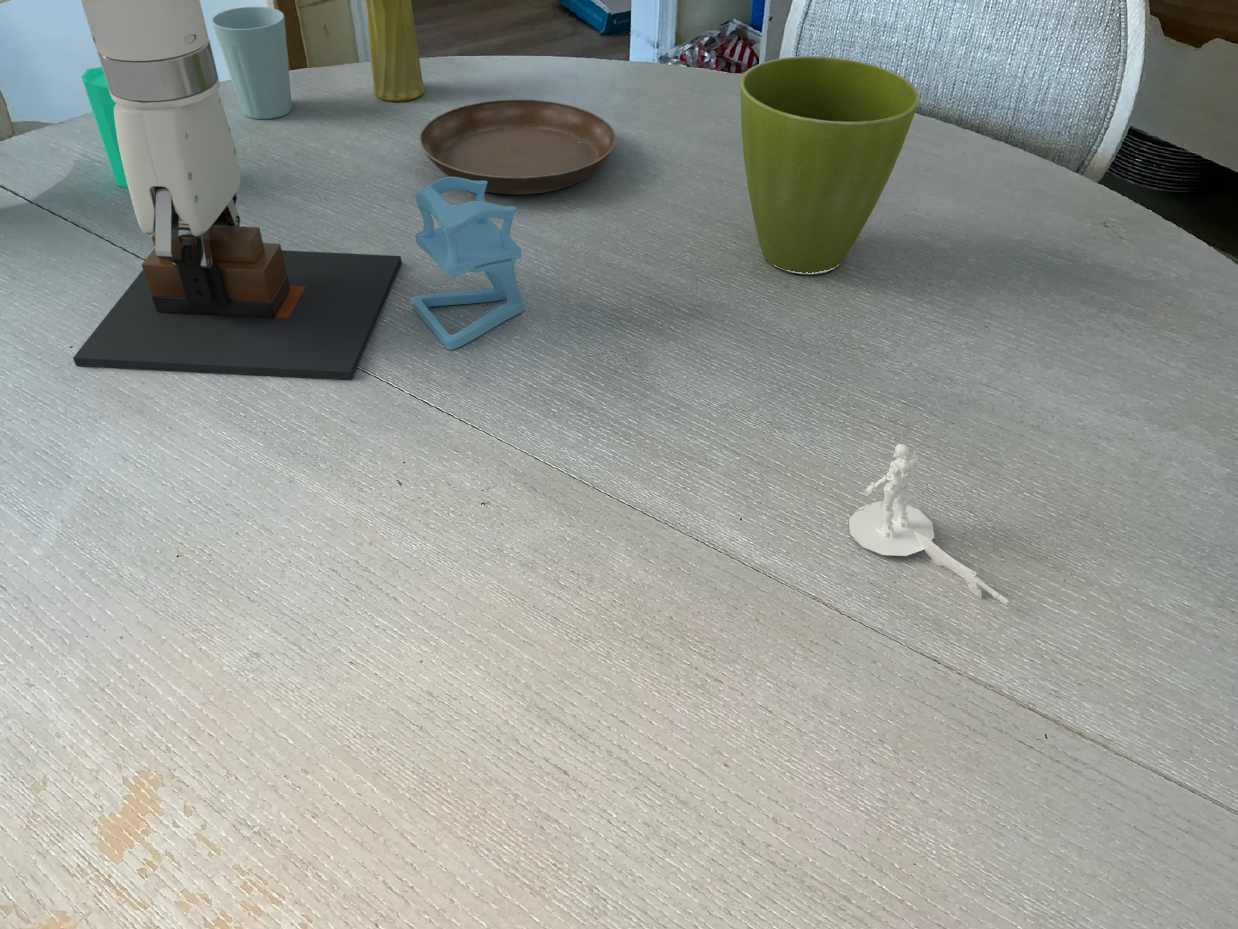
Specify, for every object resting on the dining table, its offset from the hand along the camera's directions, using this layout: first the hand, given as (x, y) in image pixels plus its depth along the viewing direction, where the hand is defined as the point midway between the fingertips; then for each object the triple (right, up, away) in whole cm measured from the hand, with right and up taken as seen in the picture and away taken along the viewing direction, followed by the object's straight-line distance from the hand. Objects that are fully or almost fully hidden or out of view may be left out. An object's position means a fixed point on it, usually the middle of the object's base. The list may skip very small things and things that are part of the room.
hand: (220, 286), depth 85 cm
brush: (0, -1, +1) cm, 1 cm away
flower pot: (+51, +5, +11) cm, 52 cm away
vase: (+7, +30, +38) cm, 49 cm away
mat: (+2, -2, +1) cm, 3 cm away
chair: (+21, -2, +2) cm, 21 cm away
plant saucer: (+23, +17, +24) cm, 38 cm away
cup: (-8, +26, +33) cm, 43 cm away
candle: (-16, +15, +20) cm, 29 cm away
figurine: (+54, -21, -19) cm, 61 cm away
